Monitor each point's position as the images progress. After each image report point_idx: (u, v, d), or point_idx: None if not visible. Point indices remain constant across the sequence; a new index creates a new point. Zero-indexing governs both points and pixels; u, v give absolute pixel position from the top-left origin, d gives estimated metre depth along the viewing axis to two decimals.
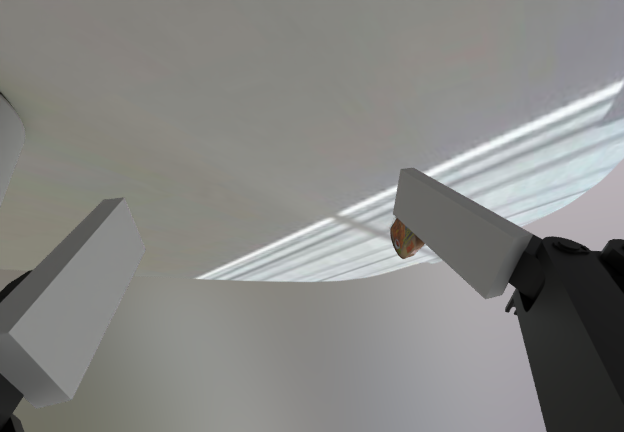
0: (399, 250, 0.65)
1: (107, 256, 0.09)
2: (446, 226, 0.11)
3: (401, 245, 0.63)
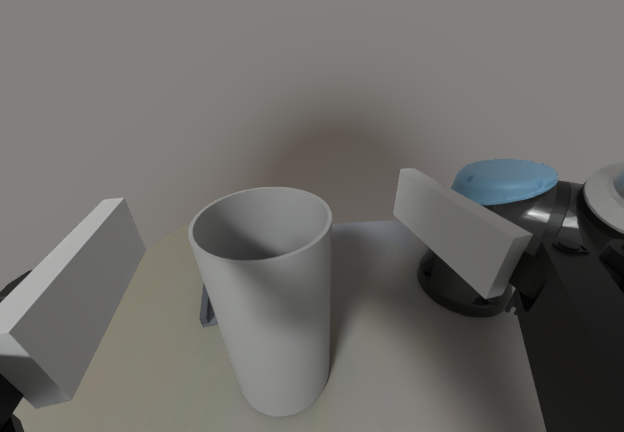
0: None
1: (107, 256, 0.09)
2: (446, 226, 0.11)
3: None
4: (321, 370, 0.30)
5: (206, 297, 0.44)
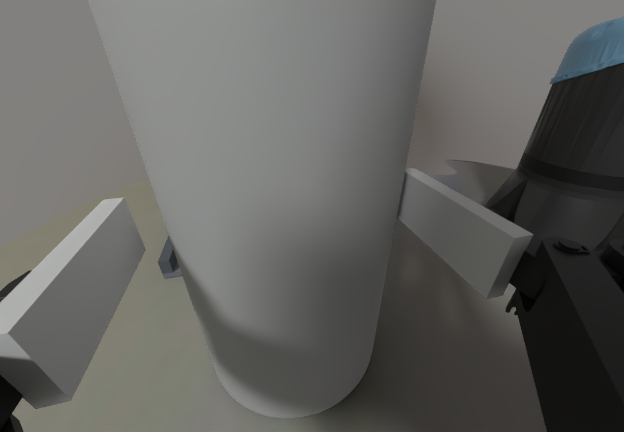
0: None
1: (106, 256, 0.09)
2: (446, 226, 0.11)
3: None
4: (374, 321, 0.15)
5: None
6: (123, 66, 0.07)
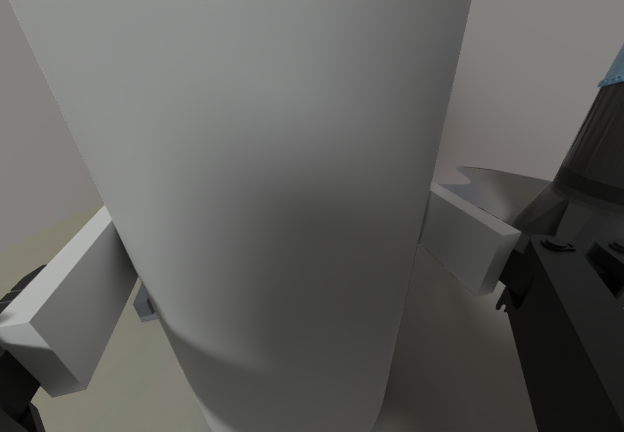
0: None
1: (117, 252, 0.09)
2: (438, 224, 0.11)
3: None
4: None
5: None
6: (112, 64, 0.04)
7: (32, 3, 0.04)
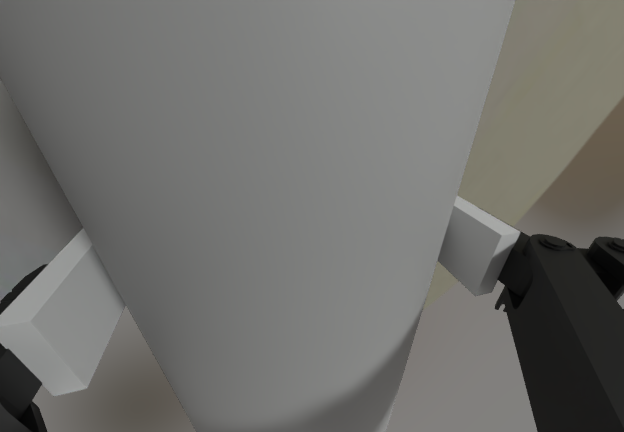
0: None
1: None
2: None
3: None
4: None
5: None
6: (46, 55, 0.03)
7: None
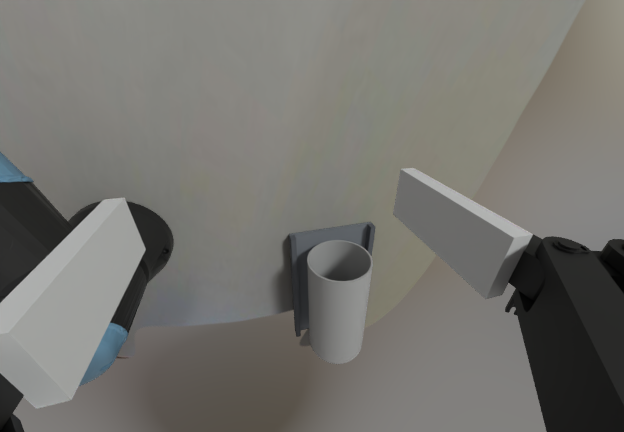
0: None
1: (107, 256, 0.09)
2: (446, 226, 0.11)
3: None
4: (363, 330, 0.57)
5: (370, 243, 0.56)
6: (329, 305, 0.48)
7: (321, 298, 0.48)
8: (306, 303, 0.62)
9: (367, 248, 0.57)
